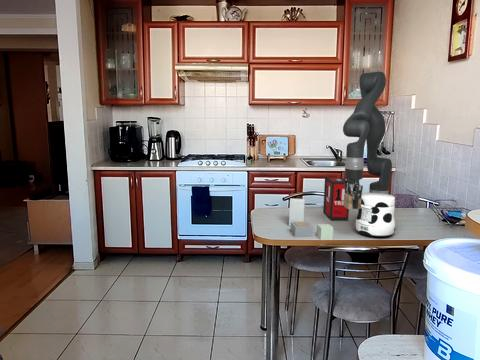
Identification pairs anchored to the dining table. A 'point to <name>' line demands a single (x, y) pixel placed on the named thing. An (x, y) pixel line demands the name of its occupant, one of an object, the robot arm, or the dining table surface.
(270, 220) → the dining table surface
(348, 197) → the tan wooden cube
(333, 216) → the cleaning product box
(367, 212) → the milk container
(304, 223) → the grey base block
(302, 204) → the supplement box
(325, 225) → the sage green block
